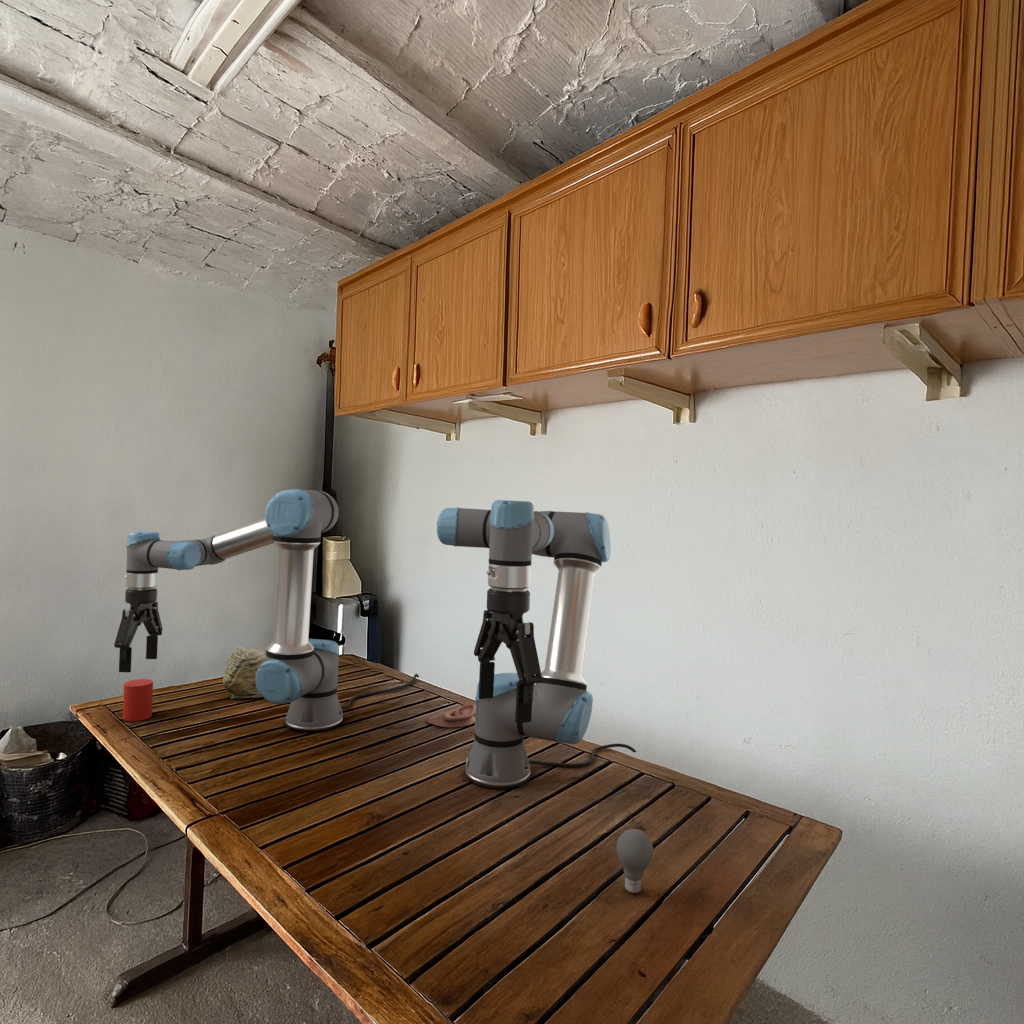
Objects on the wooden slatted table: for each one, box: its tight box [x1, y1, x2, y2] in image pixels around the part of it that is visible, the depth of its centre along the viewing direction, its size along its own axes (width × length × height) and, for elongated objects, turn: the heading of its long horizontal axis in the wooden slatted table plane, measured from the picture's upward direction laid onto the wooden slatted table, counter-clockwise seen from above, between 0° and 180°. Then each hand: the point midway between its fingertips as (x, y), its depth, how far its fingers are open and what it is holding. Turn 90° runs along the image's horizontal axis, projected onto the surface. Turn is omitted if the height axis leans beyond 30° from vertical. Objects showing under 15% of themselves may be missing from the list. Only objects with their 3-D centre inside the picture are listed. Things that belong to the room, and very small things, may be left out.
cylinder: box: [122, 678, 154, 722], centre depth 175 cm, size 7×7×10 cm
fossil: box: [222, 646, 266, 699], centre depth 198 cm, size 9×18×15 cm, turn 132°
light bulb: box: [615, 828, 654, 894], centre depth 106 cm, size 6×6×10 cm
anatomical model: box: [426, 703, 476, 728], centre depth 182 cm, size 13×4×12 cm
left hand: (138, 665), depth 173 cm, fingers open, 13 cm apart
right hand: (503, 709), depth 111 cm, fingers open, 13 cm apart
